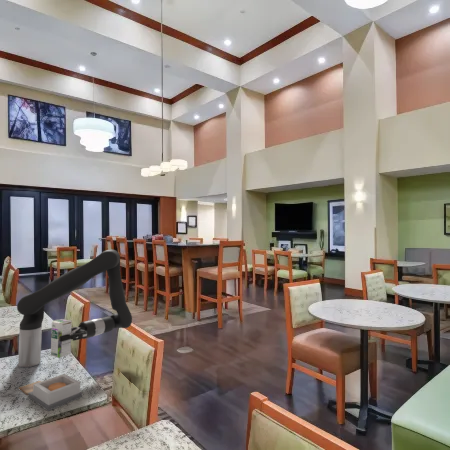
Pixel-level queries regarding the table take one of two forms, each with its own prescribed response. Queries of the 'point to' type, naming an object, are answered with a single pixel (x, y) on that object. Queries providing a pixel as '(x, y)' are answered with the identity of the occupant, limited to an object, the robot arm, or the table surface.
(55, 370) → the table surface
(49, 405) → the panel
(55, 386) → the button
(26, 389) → the rest mat
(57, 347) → the syrup box
